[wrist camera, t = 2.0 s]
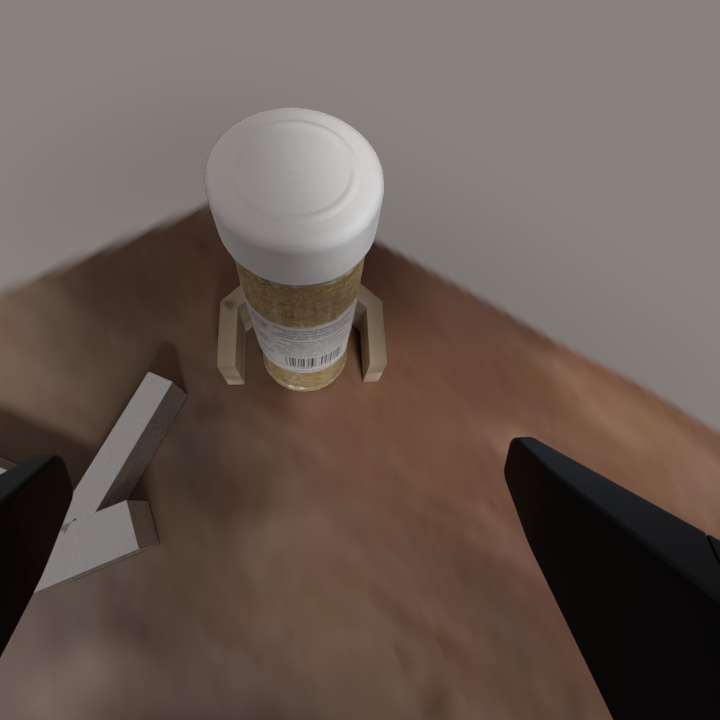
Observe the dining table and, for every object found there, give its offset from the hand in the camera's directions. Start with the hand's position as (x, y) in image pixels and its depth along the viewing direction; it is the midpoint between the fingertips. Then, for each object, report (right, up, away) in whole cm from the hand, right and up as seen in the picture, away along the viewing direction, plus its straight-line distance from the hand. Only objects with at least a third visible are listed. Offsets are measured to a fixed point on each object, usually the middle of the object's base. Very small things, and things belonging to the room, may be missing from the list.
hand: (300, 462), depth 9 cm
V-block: (-11, -4, +11) cm, 16 cm away
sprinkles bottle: (-2, +2, +15) cm, 15 cm away
